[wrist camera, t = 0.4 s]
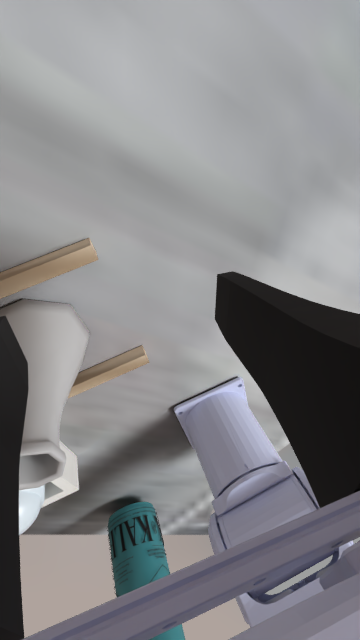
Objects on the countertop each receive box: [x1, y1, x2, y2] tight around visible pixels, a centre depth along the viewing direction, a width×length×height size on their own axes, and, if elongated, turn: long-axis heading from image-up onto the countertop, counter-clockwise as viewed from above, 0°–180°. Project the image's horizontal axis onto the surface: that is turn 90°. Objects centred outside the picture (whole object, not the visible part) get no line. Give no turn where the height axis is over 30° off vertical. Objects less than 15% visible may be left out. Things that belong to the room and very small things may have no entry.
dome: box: [19, 485, 45, 535], centre depth 24 cm, size 5×5×5 cm
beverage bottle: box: [107, 502, 185, 640], centre depth 33 cm, size 6×7×20 cm
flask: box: [0, 299, 90, 490], centre depth 18 cm, size 7×7×10 cm
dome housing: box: [41, 440, 79, 508], centre depth 26 cm, size 8×8×4 cm
